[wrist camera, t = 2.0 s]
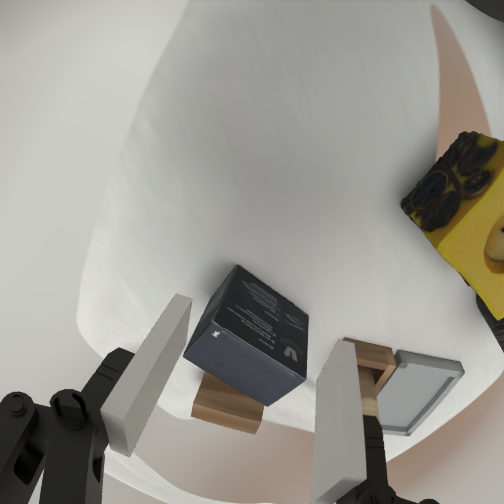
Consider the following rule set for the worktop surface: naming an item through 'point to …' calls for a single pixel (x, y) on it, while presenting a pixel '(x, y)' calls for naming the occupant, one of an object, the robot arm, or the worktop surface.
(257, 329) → the box
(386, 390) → the tray
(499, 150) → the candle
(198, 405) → the wooden block
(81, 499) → the robot arm
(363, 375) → the dowel
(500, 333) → the travel mug
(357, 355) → the socket
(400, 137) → the worktop surface
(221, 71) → the worktop surface
